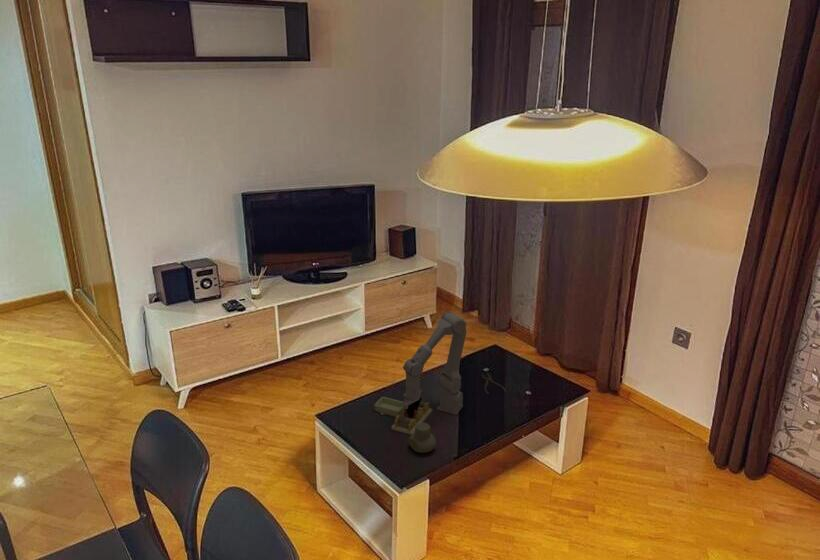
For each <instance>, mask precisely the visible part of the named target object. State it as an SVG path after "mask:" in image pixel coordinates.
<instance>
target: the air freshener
mask: <svg viewBox="0 0 820 560" xmlns="http://www.w3.org/2000/svg"><path fill="white" fill-rule="evenodd" d="M408 443H409V446H410V448H411V449H412V450H413V451H415V452H417V453H421V454H423V453H428V452H431V451H433V450H434V448H436V446H437V440H436V438H435V436H434V434H432V433H431V425H430V424H428V423H426V422H423V423H418V424H417V425H416V426H415V433H413V434H412V435H410V436H409V438H408Z"/></svg>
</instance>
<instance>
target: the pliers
mask: <svg viewBox="0 0 820 560" xmlns="http://www.w3.org/2000/svg"><path fill="white" fill-rule="evenodd" d="M481 374H482V375H481ZM480 375H481V378H482V379H483V380H484V381H485V385H484V391H485V393H486V394H487V395H490V393H489V392H488V391H487V390H488V389H487V387H488V385H489V382H491V383H492V384H494V385H496V386H498V387H500V388H501V389H502V390H503V391H504V393H507V389H506V388H505V387H504V386H503V385H502V384H499V383H498V382H496V381H494V380H493V378H492V375H491V374H490V373H488V372H486V375H485V374H484V373H483V372H481V373H480Z"/></svg>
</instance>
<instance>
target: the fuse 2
mask: <svg viewBox="0 0 820 560" xmlns="http://www.w3.org/2000/svg"><path fill="white" fill-rule="evenodd" d="M428 406H429V407H430V402H428V403H427V402H426V401H421V402H420V404H419V406H418V407H420V408H423V407H425V409H426V410H427V409H428Z"/></svg>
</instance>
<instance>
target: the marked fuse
mask: <svg viewBox="0 0 820 560" xmlns="http://www.w3.org/2000/svg"><path fill="white" fill-rule="evenodd" d="M403 412H405V414H407V411H406V409H405V408H403ZM416 415H418V417H419V418H420V417H421V415H422V411H420V410H415V411H414V416H416Z"/></svg>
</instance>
